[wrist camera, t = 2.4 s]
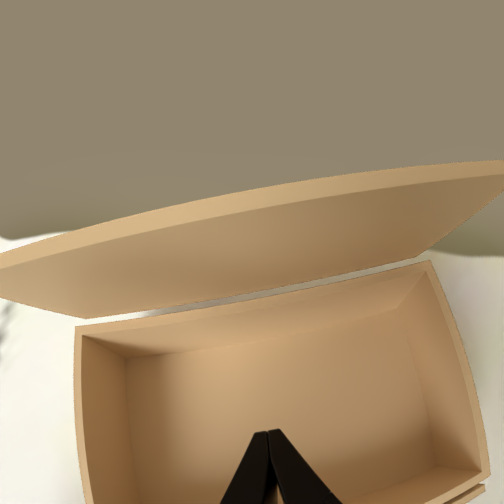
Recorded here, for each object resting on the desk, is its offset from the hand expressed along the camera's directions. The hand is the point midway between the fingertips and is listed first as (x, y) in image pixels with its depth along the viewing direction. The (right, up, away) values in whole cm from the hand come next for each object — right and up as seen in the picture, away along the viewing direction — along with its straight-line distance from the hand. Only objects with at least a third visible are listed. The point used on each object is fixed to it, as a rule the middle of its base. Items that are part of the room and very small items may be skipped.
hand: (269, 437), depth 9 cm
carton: (+1, -6, +9) cm, 11 cm away
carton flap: (-1, +5, +3) cm, 6 cm away
